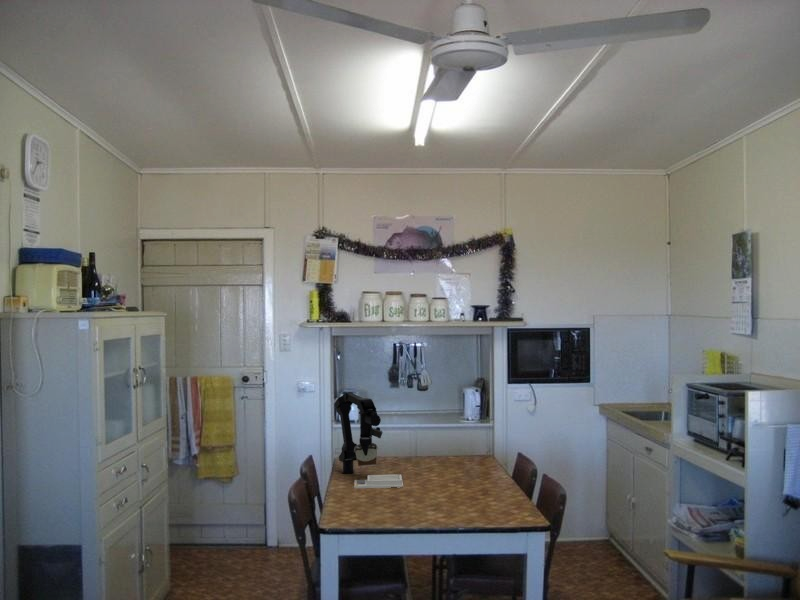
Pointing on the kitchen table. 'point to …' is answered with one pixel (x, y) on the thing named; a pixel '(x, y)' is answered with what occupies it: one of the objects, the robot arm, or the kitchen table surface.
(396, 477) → the dock
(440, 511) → the kitchen table surface
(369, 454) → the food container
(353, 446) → the robot arm
